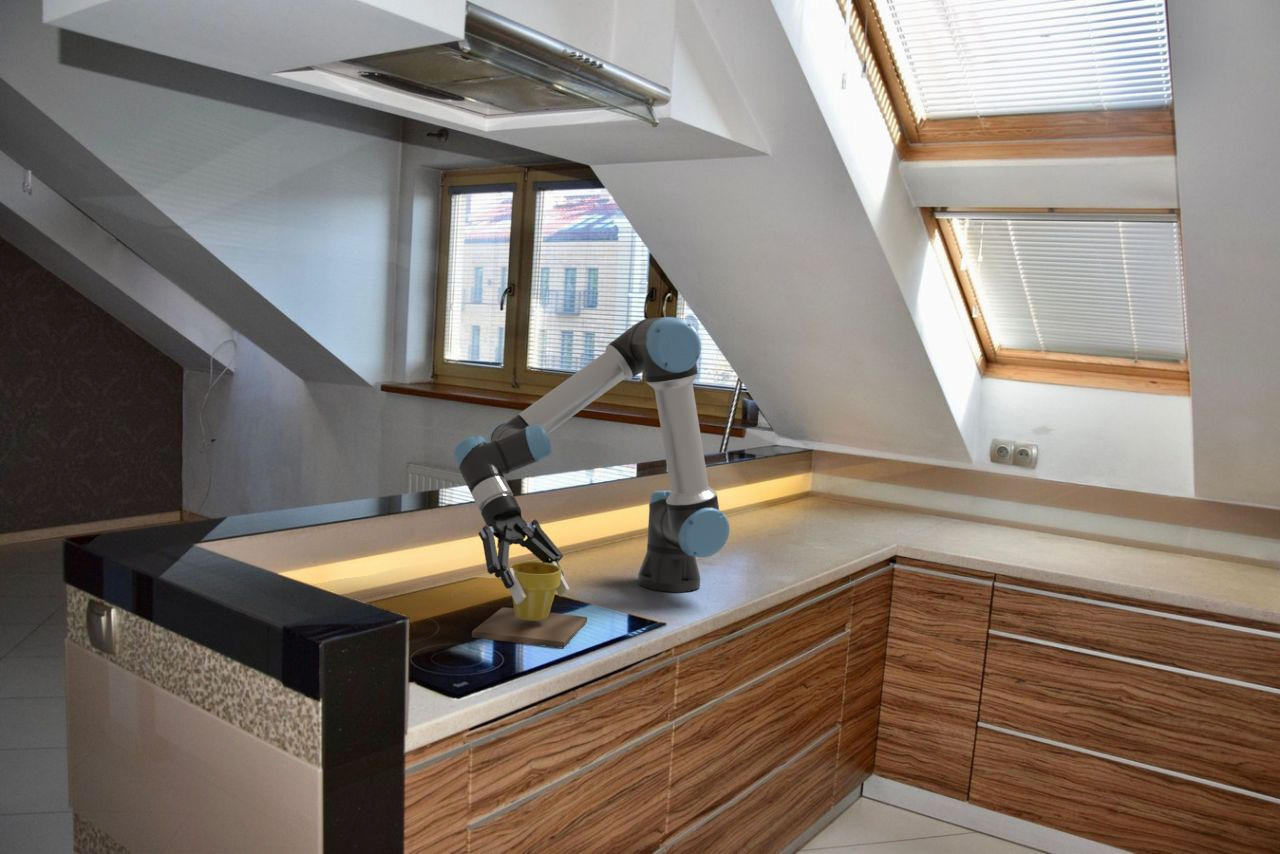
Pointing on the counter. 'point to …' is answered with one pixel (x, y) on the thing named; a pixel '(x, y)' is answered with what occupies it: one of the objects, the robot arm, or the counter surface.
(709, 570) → the counter surface
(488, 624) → the walnut board
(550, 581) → the plant pot
